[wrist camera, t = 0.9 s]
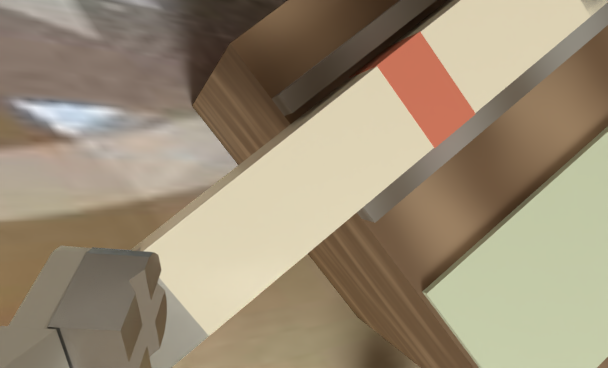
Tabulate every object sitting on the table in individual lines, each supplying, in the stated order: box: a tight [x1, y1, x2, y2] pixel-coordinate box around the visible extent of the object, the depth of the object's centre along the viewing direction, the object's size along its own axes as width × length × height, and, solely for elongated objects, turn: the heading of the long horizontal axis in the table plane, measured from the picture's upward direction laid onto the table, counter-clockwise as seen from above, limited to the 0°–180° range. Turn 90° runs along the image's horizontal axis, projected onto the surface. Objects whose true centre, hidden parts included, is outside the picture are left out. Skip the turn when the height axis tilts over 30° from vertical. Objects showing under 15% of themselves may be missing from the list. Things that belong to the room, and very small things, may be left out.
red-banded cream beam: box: [131, 0, 608, 368], centre depth 21 cm, size 22×4×3 cm, turn 128°
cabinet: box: [192, 0, 608, 368], centre depth 37 cm, size 15×23×28 cm, turn 38°
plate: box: [422, 126, 608, 368], centre depth 26 cm, size 14×8×1 cm, turn 128°
